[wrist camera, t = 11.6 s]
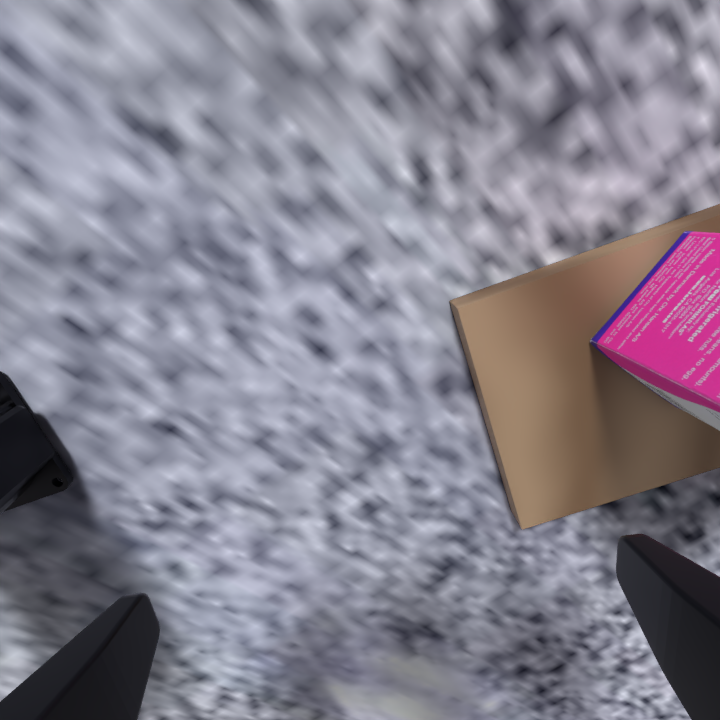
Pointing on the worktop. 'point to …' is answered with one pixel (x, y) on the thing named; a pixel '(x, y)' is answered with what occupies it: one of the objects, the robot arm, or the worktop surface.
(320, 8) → the worktop surface
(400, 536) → the worktop surface
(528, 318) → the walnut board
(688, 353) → the supplement box
